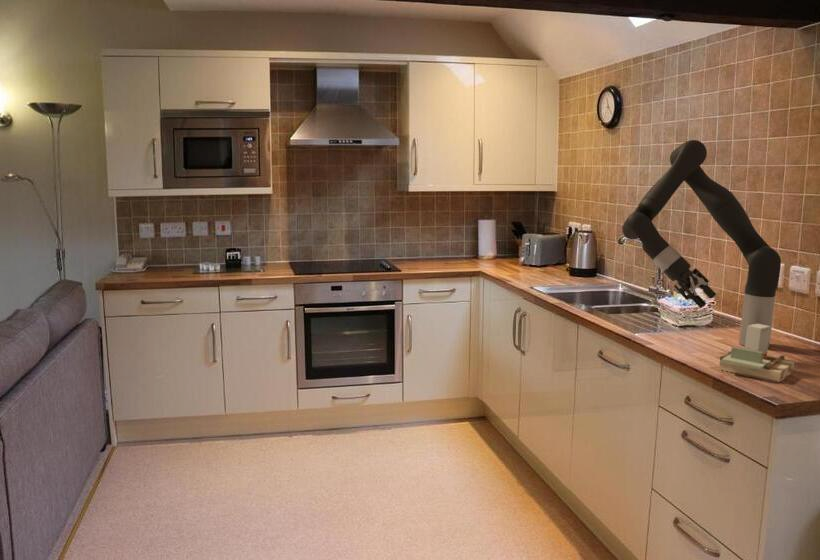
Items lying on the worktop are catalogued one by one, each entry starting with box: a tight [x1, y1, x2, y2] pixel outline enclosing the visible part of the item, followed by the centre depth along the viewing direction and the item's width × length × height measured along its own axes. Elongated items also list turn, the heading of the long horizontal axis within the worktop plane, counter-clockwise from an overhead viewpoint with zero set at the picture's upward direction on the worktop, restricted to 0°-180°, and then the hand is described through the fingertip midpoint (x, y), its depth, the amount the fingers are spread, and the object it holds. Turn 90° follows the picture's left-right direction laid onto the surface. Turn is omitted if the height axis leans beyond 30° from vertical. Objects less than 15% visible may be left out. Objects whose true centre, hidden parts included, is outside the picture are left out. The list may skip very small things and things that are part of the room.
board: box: [718, 350, 796, 384], centre depth 202 cm, size 16×16×4 cm
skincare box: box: [744, 324, 771, 360], centre depth 205 cm, size 6×4×12 cm
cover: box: [722, 346, 771, 370], centre depth 198 cm, size 9×11×4 cm
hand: (708, 301), depth 216 cm, fingers open, 8 cm apart
